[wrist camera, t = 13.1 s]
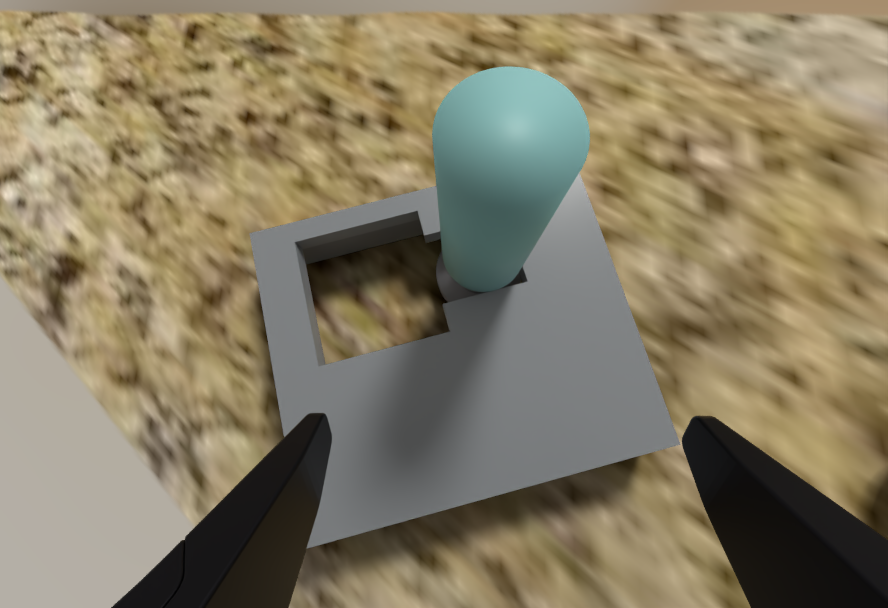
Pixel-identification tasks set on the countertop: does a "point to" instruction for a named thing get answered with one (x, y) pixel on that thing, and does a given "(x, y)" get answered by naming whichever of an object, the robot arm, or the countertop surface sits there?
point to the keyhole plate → (462, 371)
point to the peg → (501, 173)
